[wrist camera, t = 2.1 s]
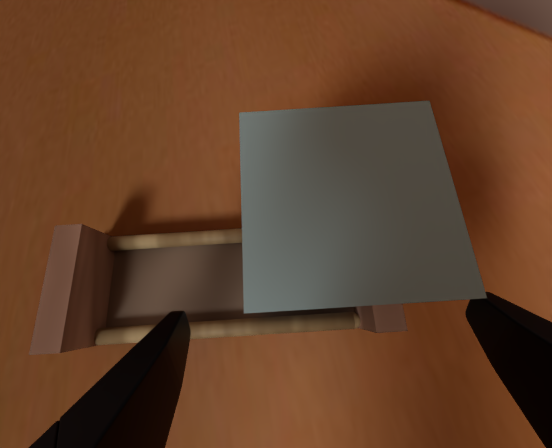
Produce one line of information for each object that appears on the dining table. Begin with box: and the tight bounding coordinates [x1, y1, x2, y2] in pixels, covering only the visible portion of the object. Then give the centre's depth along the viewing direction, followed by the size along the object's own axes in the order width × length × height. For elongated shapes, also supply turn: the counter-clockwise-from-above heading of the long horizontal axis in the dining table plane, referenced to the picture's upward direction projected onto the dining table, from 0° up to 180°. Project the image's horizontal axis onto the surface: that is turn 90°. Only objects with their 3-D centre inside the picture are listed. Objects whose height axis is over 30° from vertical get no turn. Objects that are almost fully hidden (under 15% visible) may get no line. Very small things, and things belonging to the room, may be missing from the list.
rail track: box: [29, 224, 408, 355], centre depth 17 cm, size 20×7×4 cm, turn 93°
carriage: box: [239, 101, 487, 314], centre depth 11 cm, size 6×4×14 cm
